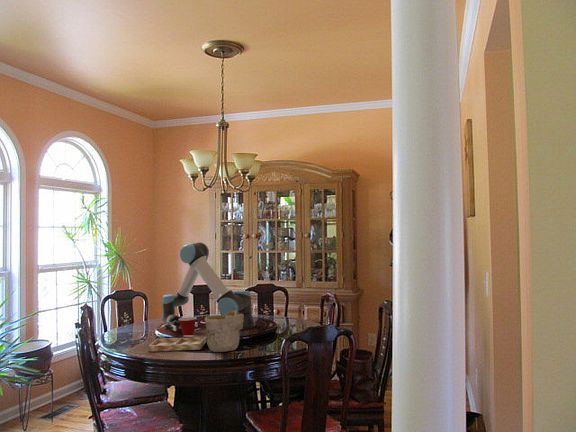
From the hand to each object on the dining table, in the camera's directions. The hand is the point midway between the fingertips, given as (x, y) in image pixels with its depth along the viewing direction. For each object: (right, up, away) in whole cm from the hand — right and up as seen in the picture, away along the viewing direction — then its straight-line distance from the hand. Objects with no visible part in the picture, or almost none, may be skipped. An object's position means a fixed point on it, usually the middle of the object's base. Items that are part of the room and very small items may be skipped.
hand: (186, 326), depth 296 cm
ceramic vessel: (+26, -5, -28) cm, 39 cm away
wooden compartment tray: (-1, -7, -20) cm, 21 cm away
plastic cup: (+2, -6, -1) cm, 7 cm away
